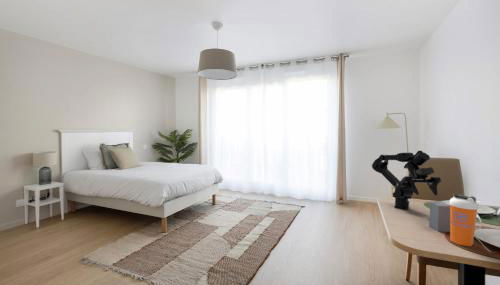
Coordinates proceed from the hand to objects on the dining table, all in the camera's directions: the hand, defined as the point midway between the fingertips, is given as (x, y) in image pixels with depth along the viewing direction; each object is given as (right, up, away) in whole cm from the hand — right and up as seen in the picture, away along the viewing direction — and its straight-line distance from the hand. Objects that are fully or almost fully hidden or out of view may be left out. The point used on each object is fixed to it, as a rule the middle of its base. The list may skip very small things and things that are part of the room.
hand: (427, 194), depth 122 cm
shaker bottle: (-4, -15, -24) cm, 28 cm away
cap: (-2, -14, -11) cm, 18 cm away
